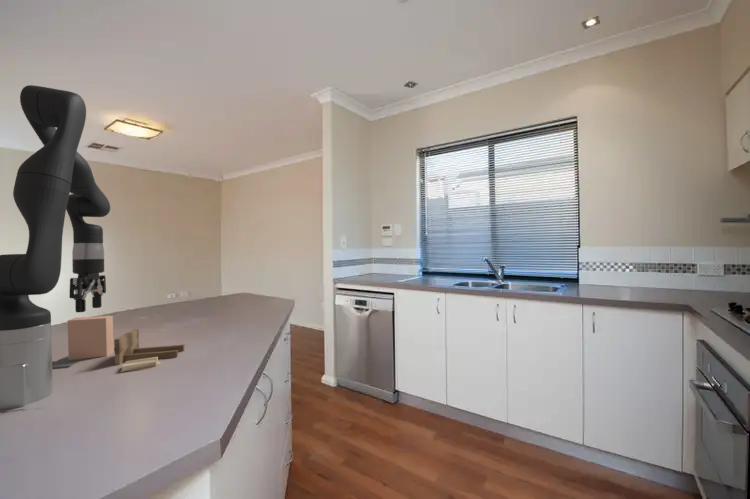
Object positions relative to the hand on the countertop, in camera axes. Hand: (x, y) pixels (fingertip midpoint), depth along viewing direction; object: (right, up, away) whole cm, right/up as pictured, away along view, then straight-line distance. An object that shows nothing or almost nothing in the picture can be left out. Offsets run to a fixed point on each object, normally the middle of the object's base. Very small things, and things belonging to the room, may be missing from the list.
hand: (89, 309), depth 103 cm
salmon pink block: (+1, -15, 0) cm, 15 cm away
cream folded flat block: (+24, -16, -10) cm, 30 cm away
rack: (+21, -15, -1) cm, 26 cm away
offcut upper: (+24, -14, -10) cm, 29 cm away
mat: (+1, -15, 0) cm, 15 cm away
